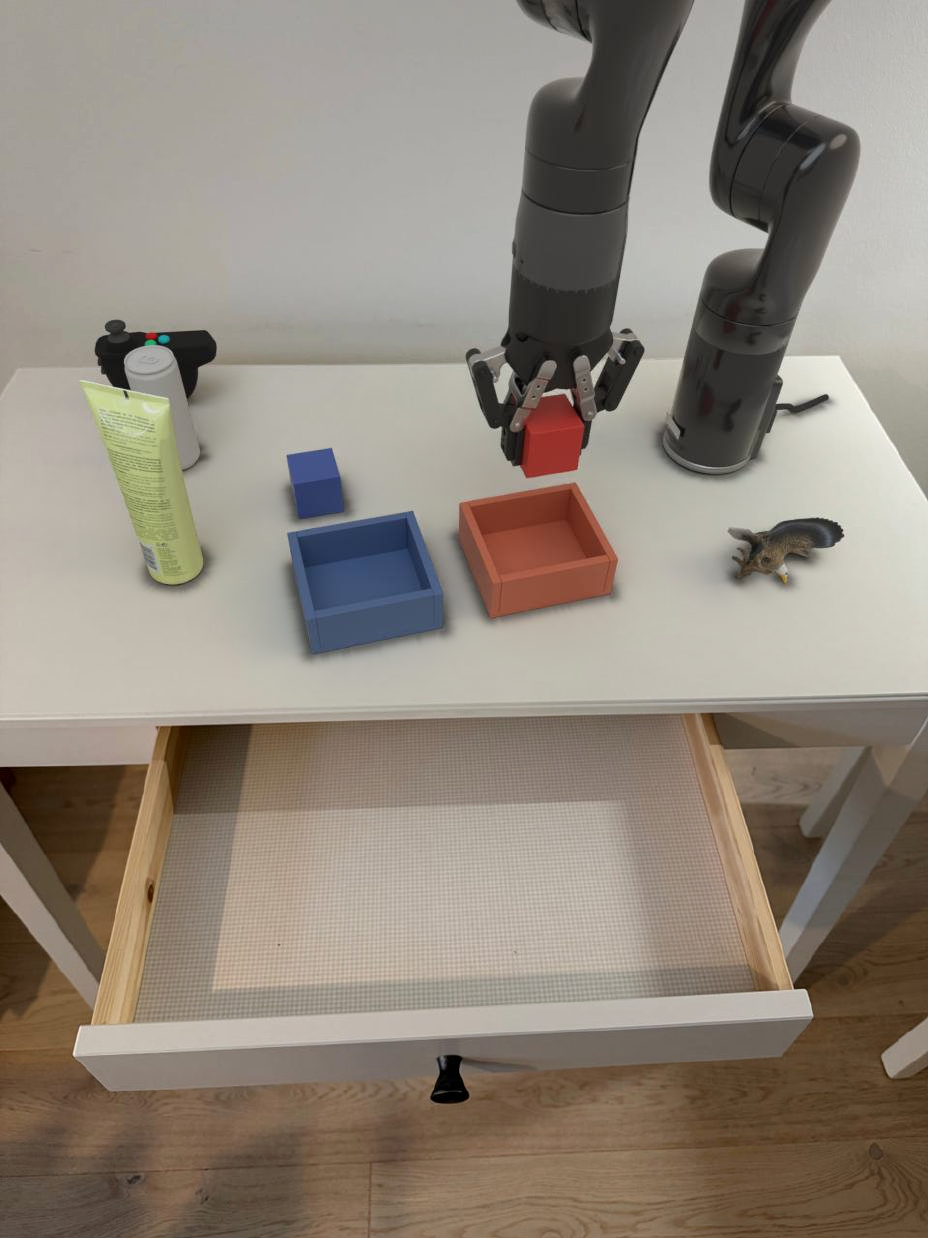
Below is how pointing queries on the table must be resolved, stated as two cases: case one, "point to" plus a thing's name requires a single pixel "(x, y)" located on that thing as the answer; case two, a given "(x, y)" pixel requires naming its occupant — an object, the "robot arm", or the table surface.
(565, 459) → the red block
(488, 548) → the red bin
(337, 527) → the blue bin
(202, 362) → the controller
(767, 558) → the eagle figurine
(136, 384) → the upturned grey cup
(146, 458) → the tube
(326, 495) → the blue block
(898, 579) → the table surface
